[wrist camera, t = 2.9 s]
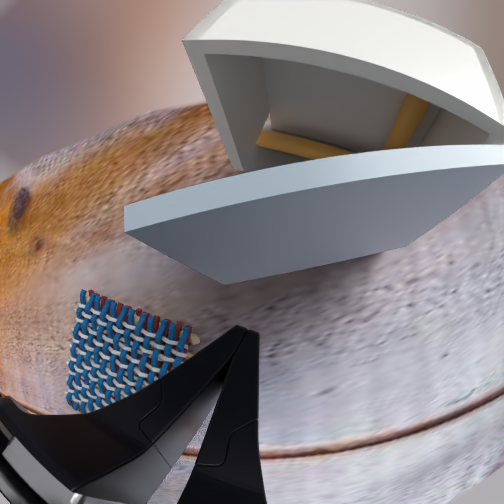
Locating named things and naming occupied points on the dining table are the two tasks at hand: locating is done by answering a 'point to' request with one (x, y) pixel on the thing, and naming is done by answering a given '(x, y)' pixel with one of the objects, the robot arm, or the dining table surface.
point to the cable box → (338, 81)
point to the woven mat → (119, 351)
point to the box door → (312, 210)
